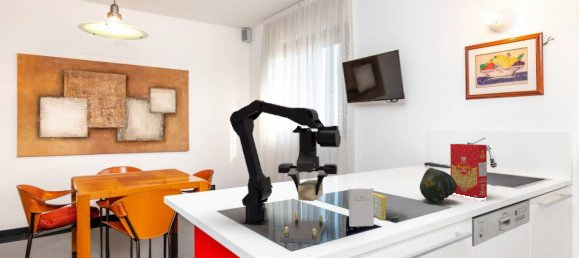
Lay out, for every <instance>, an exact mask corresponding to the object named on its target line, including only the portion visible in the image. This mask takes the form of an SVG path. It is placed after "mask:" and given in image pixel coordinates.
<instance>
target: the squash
mask: <svg viewBox="0 0 579 258" xmlns="http://www.w3.org/2000/svg"><path fill="white" fill-rule="evenodd" d="M456 189H457V184H456V181H455V180H454V179H453V177H452V176H451V174H449V173H448V172H447V171H444V170H441V169H437V168H434V167H429V168H427V169H426V171H425V172H424V174H423V175H422V178H421V180H420V183H419V190H420V194H421V195H422V197H423V198H425V200H426V201H428V202H431V201H432V203H440V202H443V201H444V200H445V199H447V198H449V197H450V196H453V195H452V194H453V193H454V192H455V191H456Z"/></svg>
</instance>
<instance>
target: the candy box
mask: <svg viewBox="0 0 579 258" xmlns="http://www.w3.org/2000/svg"><path fill="white" fill-rule="evenodd" d="M373 202H374V218H377V219H379V220H381V221H385V220H386V218H387V217H386V216H387V215H386V214H387V213H386V212H387V209H386V208H387V197H386V196H384V195H381V194H378V193H376V192H373Z"/></svg>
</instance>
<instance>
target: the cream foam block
mask: <svg viewBox="0 0 579 258" xmlns="http://www.w3.org/2000/svg"><path fill="white" fill-rule="evenodd" d="M323 183H324V182H323V181H322V183H321V186H320V189H319V193H318V196H316V187H317V179H306V180H304V181H302V182H300V184H298V192H297V199H298V201H303V202H304V201H306V202H314V201H316V200H317V199H318V198H320V197H322V196H323V195H324V190H323V189H324V188H323V187H324V186H323V185H324V184H323Z"/></svg>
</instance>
